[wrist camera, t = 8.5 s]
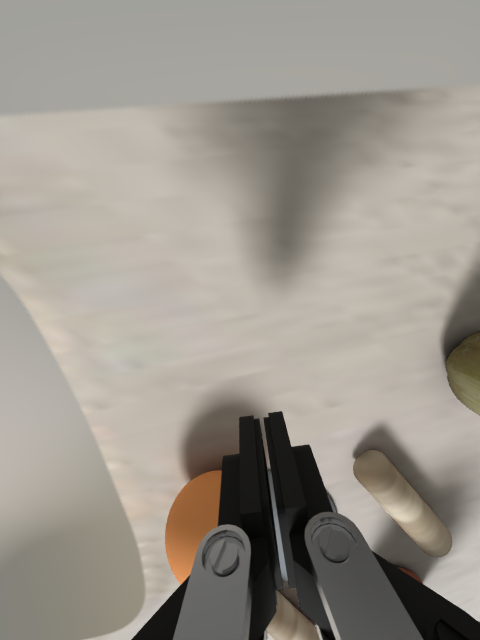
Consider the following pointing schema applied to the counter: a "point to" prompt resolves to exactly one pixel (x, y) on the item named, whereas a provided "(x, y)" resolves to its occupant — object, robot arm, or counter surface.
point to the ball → (191, 521)
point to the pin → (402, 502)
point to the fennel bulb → (466, 372)
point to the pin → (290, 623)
